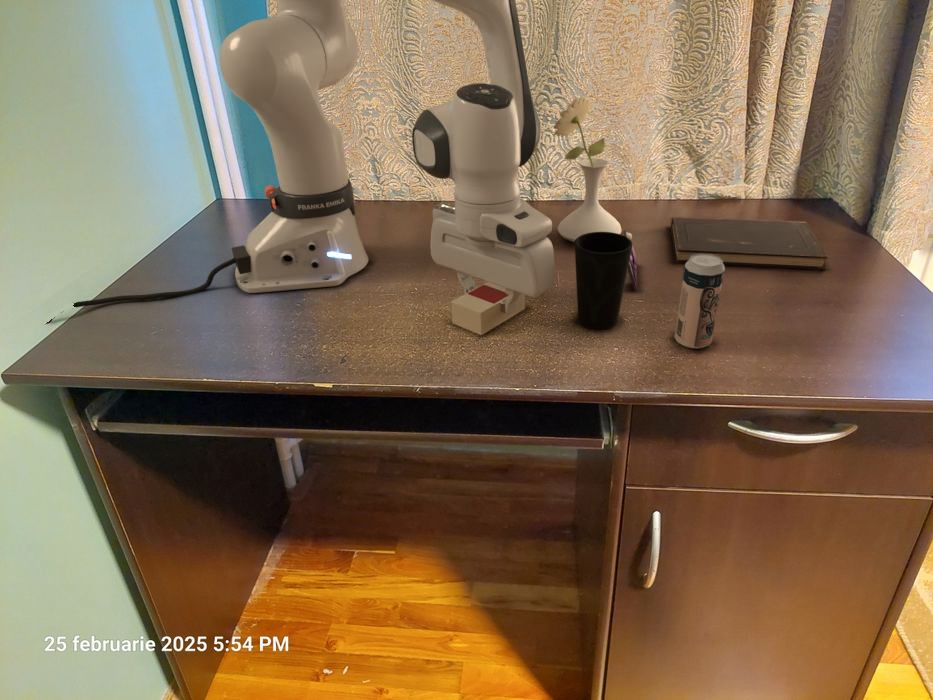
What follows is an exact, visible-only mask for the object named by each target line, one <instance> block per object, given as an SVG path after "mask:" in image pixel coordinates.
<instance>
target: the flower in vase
mask: <svg viewBox="0 0 933 700" xmlns="http://www.w3.org/2000/svg"><path fill="white" fill-rule="evenodd" d="M591 106H592V100H591V99H588V98H587V96H586V95H582V96H581V97H580V98H579V99H578V98H574V99H573V100H572V101H571V102H570V103H569V104H568V105H567V108H566V109H565V110H561V112H560V113H559V117H560V118H558V119H557V121H556V122H555V124H554V125H553V129H556V130H555V131H554V132H553V133H554V134H553V135H556V136H557V137H560V138H564V137H568V136H569V135H570V134H573V133H574V132H575V131H576V130H578V131H579V132H580V136H581V140H582V145H583V147H582V146H575V147H574V148H572V149H571V150H569V151H568V152H567V153H566V154H565V157H564V158H563V159H564V160H576V159H577V158H579V157H580V156H581V155H582V154H583V153H584V151H585V153H586V155H587V157H588V158H586V159H581V160H580V161H578V165H579V166H580V168H581V169H582V172H583V175H584V181H585V182H584V184H585V193H584V199H583V202H582V204H581V205H580V206H579V207H577V209H575V210H574V211H572V212H571V213H569V214H568V215H567V216H565V217H564V218H563V219H562V220H561V221H560V223H559V224H558V227H557V231H558V233H559V234H560V236H561V237H562V238H563V239H565V240H568V241H570V242H572V243H575V240H576V238H578V237H579V236H581V235H583V234H587V233H591V232H612V233H617V234H621V233H622V227H621V224H620V222H619V221H618V220H617V219H616V218H615V217H614V216H613V215H611V214H610V212H608V211H607V210H605V209H604V208H603V207H602V206H601V204H600V202H599V189H600V188H599V187H600V182H601V178H602V175H603V173H604V170H605V169H606V167H607V166H608V165H609V162H608V161H607V160H605V159H602V158H592V157H595V156H598V155H600V154H602V153H603V152H604V149H605V138H604V137H602V138H601V139H599V140H598V141H595V142H594V143H592V144H590V145H589V146H588V149H587V145H586V142H585V137H584V132H583V129H582V124H584V122H585V121H586V119H588V117H589V112H590V111H591Z"/></svg>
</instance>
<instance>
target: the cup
mask: <svg viewBox="0 0 933 700" xmlns="http://www.w3.org/2000/svg"><path fill="white" fill-rule="evenodd" d="M632 246H633V247H634V245H633V241H632V239H631V240H630V239H629V238H627V237H626V236H624V234H621V233H620V234H617V233H612V232H591V233H587V234H583V235H581V236H579V237H578V238H576V240H575V242H574V258H575V260H574V261H575V280H576V281H575V282H576V301H577V302H576V303H577V321H578V323H579V324H580V325H581V326H582V327H584V328H586V329H590V330H595V331H596V330H597V331H599V330H600V331H603V330H609V329H612V328H613V327H615V326H616V325H617V324H618V320H619V315H620V310H621V306H622V305H621V304H622V301H623V296H624V291H625V286H626V280H627V276H628V274H627V273H628V272H629V270H628V266H629V261H630V256H631V251H632V249H633V247H632Z"/></svg>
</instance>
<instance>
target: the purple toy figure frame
mask: <svg viewBox="0 0 933 700" xmlns="http://www.w3.org/2000/svg"><path fill="white" fill-rule="evenodd" d="M623 236H626V237H627V238H629V239H630V240H631V241H632V238H633V235H632V233H630V232H628V231H627V229H625V230H623ZM636 257H637V256H636V252H635V249H634V245H633V246H632V251H631V256H630V261H629V266H628V273H629V276H630V280H631V284H632V287H633V290H634V291H637V290H638V278H637V277H638V274H637V270H638V269H637V268H638V267H637V258H636Z"/></svg>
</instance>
